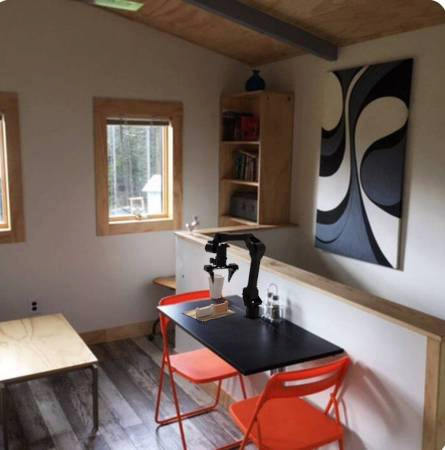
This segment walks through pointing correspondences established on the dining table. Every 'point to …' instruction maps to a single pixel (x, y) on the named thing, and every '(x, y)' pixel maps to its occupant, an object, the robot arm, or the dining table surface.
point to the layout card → (208, 317)
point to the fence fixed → (205, 311)
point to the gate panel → (221, 307)
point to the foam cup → (216, 286)
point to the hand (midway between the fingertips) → (220, 282)
